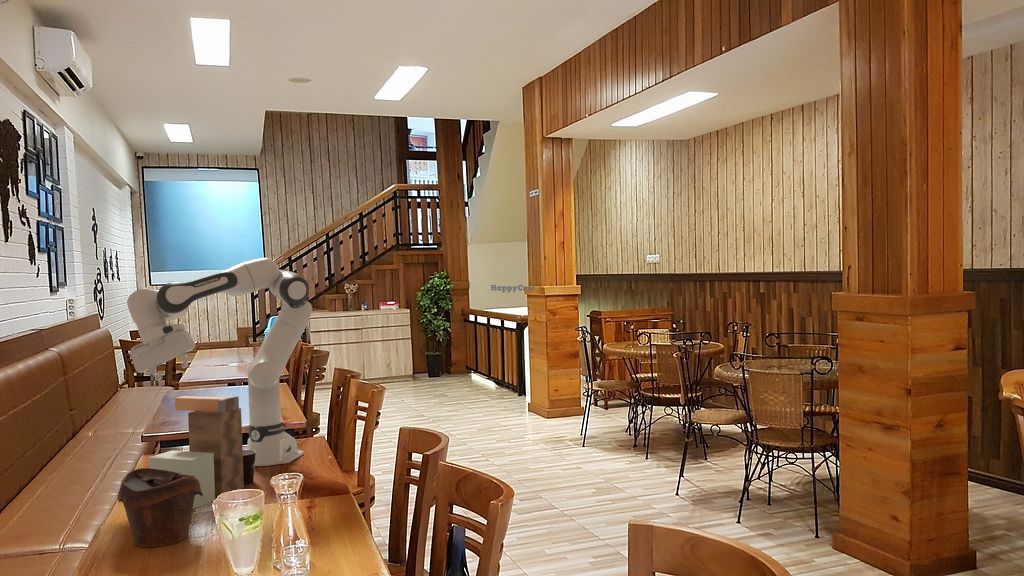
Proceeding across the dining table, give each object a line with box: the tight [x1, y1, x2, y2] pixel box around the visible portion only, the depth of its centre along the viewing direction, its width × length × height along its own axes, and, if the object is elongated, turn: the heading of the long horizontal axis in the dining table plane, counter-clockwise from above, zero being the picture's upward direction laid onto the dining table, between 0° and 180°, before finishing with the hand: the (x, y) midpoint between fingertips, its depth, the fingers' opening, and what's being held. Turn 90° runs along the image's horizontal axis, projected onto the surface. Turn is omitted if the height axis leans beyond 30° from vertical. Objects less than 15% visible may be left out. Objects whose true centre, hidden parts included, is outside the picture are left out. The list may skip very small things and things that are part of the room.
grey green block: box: [148, 449, 216, 510], centre depth 220 cm, size 9×16×14 cm, turn 71°
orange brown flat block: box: [174, 395, 240, 413], centre depth 231 cm, size 8×20×4 cm, turn 71°
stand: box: [187, 407, 245, 498], centre depth 230 cm, size 10×12×26 cm
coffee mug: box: [243, 449, 256, 486], centre depth 242 cm, size 12×9×10 cm
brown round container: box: [117, 467, 203, 548], centre depth 188 cm, size 18×20×18 cm
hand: (172, 373), depth 239 cm, fingers open, 8 cm apart
